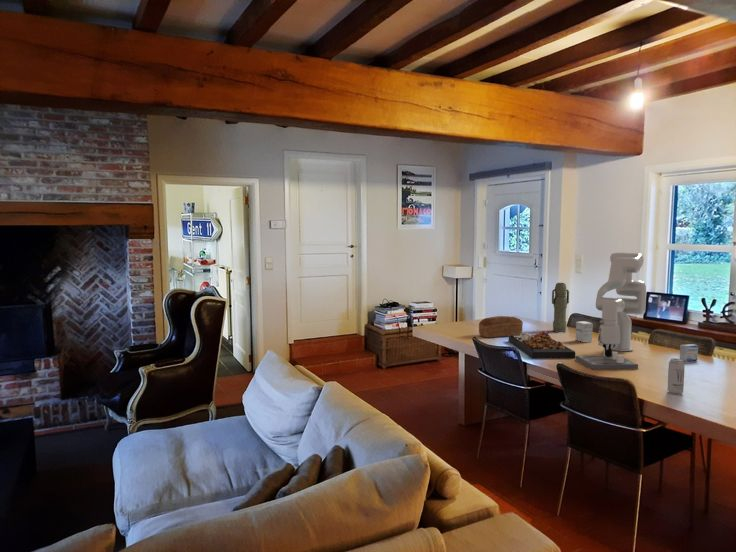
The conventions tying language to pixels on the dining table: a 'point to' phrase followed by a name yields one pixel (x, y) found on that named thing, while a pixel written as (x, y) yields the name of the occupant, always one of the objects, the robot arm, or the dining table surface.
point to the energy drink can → (676, 376)
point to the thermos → (560, 307)
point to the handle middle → (614, 355)
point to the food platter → (540, 346)
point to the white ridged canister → (584, 331)
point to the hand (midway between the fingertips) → (608, 356)
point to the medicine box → (688, 352)
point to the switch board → (604, 362)
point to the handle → (620, 358)
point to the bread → (500, 326)
